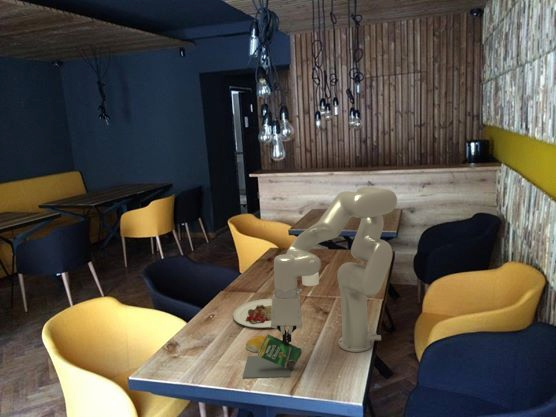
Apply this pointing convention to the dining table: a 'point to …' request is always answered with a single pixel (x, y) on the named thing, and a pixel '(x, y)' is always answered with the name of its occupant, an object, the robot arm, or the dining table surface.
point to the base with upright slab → (311, 280)
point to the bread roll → (255, 343)
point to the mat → (263, 369)
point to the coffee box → (279, 352)
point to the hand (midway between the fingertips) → (287, 343)
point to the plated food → (254, 313)
